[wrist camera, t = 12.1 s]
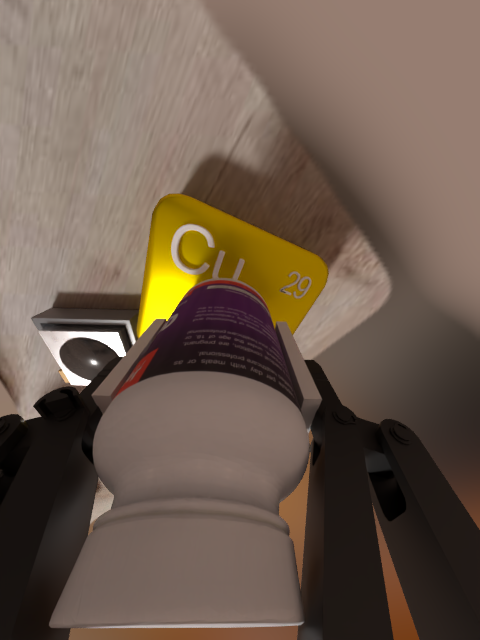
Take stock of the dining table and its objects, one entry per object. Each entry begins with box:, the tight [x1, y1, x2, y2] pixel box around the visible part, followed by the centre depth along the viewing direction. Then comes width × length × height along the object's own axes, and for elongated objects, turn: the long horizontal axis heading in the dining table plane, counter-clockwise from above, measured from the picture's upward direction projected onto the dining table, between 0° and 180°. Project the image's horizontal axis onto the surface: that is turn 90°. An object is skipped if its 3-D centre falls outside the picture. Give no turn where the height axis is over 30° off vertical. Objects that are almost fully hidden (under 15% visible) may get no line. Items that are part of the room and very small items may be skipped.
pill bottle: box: [49, 278, 310, 628], centre depth 10 cm, size 8×8×14 cm
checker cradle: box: [31, 308, 139, 383], centre depth 22 cm, size 10×10×3 cm
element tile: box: [136, 194, 329, 339], centre depth 18 cm, size 15×15×5 cm
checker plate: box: [38, 323, 132, 385], centre depth 21 cm, size 8×8×2 cm
